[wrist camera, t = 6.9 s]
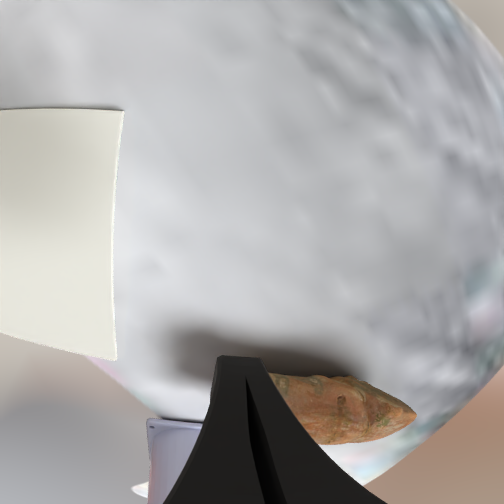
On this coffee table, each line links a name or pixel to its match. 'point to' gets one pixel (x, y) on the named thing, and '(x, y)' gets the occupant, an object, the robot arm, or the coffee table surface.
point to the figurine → (342, 408)
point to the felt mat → (59, 227)
